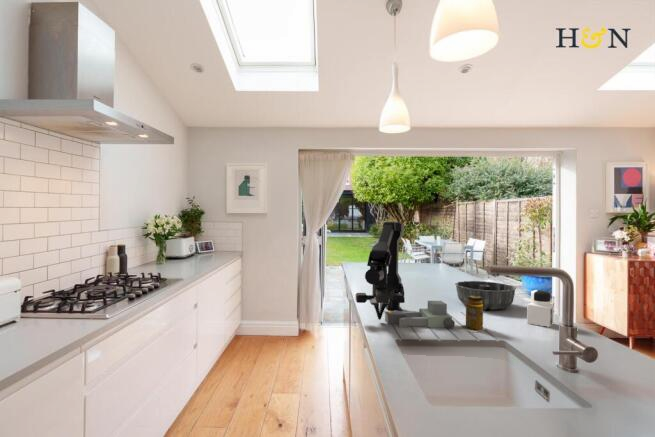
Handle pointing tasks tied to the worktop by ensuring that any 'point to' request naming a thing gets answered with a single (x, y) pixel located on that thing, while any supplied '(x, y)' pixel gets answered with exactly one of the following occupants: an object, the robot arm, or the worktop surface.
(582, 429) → the worktop surface
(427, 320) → the grey blocky piece
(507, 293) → the bundt pan
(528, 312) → the container
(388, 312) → the grey rectangular block
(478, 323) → the condiment
